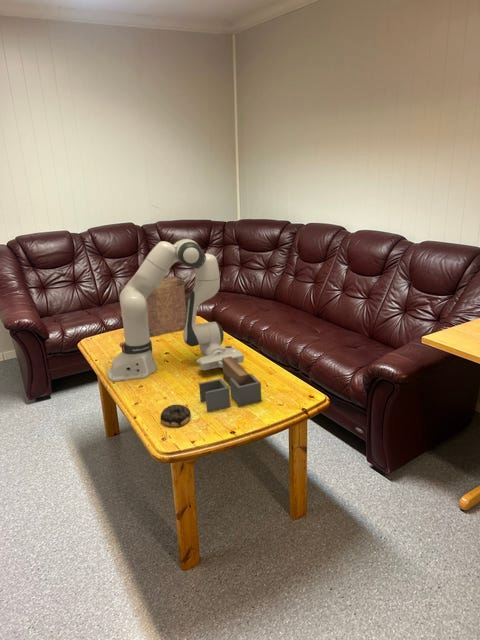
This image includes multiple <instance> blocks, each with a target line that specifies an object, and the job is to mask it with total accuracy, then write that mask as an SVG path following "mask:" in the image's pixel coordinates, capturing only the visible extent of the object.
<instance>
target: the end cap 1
mask: <svg viewBox="0 0 480 640" xmlns="http://www.w3.org/2000/svg"><path fill="white" fill-rule="evenodd" d="M198 387H199V389H198V391H199V398H200V399H199V400H200V403H201V404H202V403H205V406H206V407H205V408H206V412H207V413H211V412H214V411H218V410H223V409H227V408H230V407H231V391H230V386H229V385H228V384H227V383H226V382H225V380H224V379H222V378H217V379H216V378H215V379H212V380H207V381H203V382H198Z"/></svg>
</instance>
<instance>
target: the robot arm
mask: <svg viewBox="0 0 480 640" xmlns="http://www.w3.org/2000/svg"><path fill="white" fill-rule="evenodd" d="M177 262H180V263H181V264H182V265H184V266H186V267H189V268H193V270H194V273H195V274H194V275H195V280H194V281H195V283H194V286H193V288H192V290H191V291H189V293H188V297H187V303H186V320H185V326H184V330H183V333H182V337H183V342H184V343H185V344H186V345H187V346H189V347H191V348H193V347H197V346H199V350H200V352H201V354H202V355H203V356H200V357H199V358H198V359H197V360H196V361H195V362H196V363H197V364H198V365H199V368H200V369H201V370H202V371H206V370H207V371H209V370H211V369H217V368H221V369H223V361H222V358H226V357H232V358H233V359H234V360H235V361H236V362H237V363H238V364H241V363H244V361H245V360H244V359H245V358H244V354H243V352H241V351H240V350H239V349H237V348H235V346H234V345H231V346H230V345H226V346H225V345H224V346H223V345H222V344H223V341H224V336H225V335H224V334H225V333H224V329H223V327H222V326H221V325H220V323H218V322H217V321H210V322H209V321H208V322H203V323H197V324H196V322H197V321H196V320H197V311H198V307H200V305H201V304H203V303H204V302H206V301H207V300H209V299H212V298H213V297H215V296H216V294H217V293H218V292H219V290H220V287H221V286H220V284H221V278H220V276H221V275H220V270H219V264H218V259H217V257H216V256H215V255H214V254H211V253H204V251H203V249H202V247H201V246H200V245H199V244H198V243H197V242H196V241H195V240H194V239H193V240H192V239H190V238H180V239H179V240H177V241H175V242H173V243H171V242H168V241H163V240H162V241H159V242H158V243H157V244H156V245H155V246H154V247H153V248H152V249H151V250H150V251H149V253H148V254H147V256H146V257H145V259H144V260H143V262H142V263H141V265H140V266H139V268H138V269H137V270H136V272H135V274H133V276H132V277H131V278H130V279H129V281H128V282H127V283H126V284H125V286H124V287H123V289H122V290H121V292H120V293H119V304H120V310H121V319H122V326H123V333H124V334H123V336H124V335H125V343H124V342H120V343H119V348H121V352H120V353H118V355H117V356H115V357H114V358H113V359H112V361H111V367H110V368H109V369H108V370H107V372H106V373H107V374H106V375H107V378H108V380H110V381H111V382H121V380H123V381H129V379H131V380H139V379H146V378H148V377H149V376H150V375H151V374H153V373H155V372H156V371H157V369H158V367H157V364H156V361H155V358H154V355H153V343H152V340H151V337H150V335H149V326H148V312H147V302H146V299H147V297H148V296H149V295H150V294H151V293H152V291H153V290H154V289H155V288H157V287H158V285H159V284H160V282H161V281H162V279H163V278H165V276H166V275H167V273H168V272H169V270H170V268H172V266H173V265H174V264H175V263H177Z"/></svg>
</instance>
